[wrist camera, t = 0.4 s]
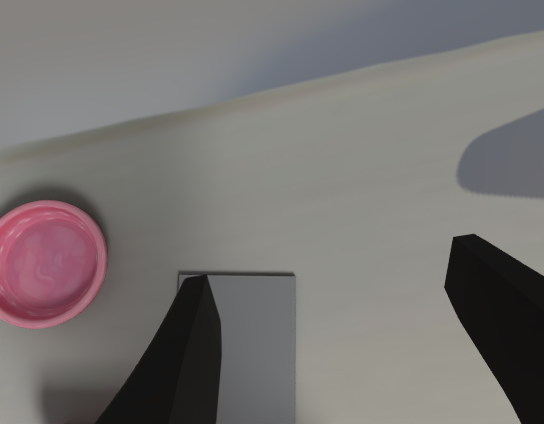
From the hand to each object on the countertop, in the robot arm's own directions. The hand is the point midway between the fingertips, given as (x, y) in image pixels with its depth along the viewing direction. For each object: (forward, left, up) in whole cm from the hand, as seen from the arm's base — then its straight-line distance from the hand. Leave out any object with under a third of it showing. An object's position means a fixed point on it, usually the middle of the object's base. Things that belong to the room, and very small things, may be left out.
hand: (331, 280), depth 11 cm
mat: (-10, +5, -29) cm, 31 cm away
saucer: (+1, +24, -30) cm, 38 cm away
